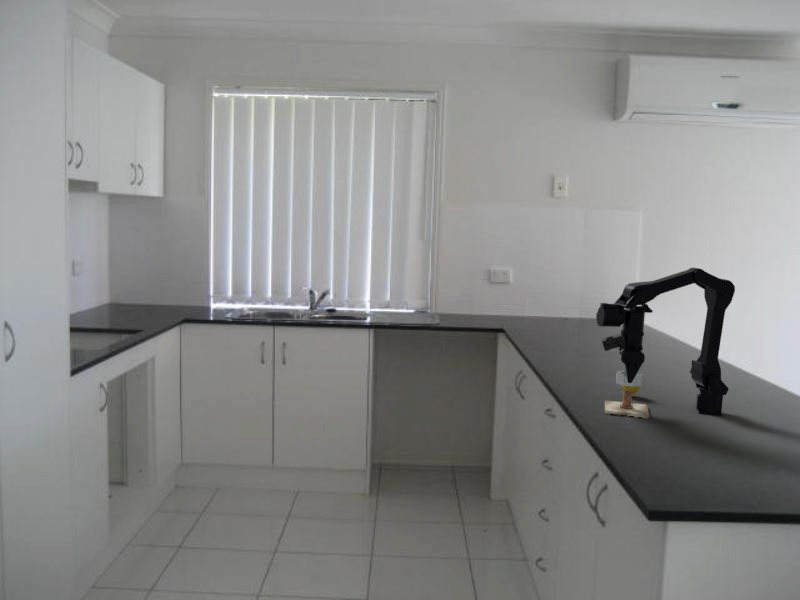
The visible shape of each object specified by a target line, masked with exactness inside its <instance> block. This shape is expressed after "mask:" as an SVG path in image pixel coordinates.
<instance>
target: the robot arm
mask: <svg viewBox="0 0 800 600" xmlns="http://www.w3.org/2000/svg"><path fill="white" fill-rule="evenodd" d="M693 284H695V285H696V286H697V287H699V288H701V289H703V290H704V294H703V295H704V301H705V303H706V315H705V322H704V328H703V335H702V336H703V337H702V343H701V347H700V348H701V349H700V355H699V357H698V358H697V360H694V359H692V360H691V368H690V370H689V374H691V380H693V382H694V383H695V388H697V389H698V393H697V394H696V396H695V404H694V405H695V406H694V408H696V410H697V412H698V413H699V414H705V415H706V414H707V415H714V416H715V415H716V416H723V415H724V414H723V412H722V411H723V410H722V409H723V398H724V396H727V394H728V393H729V392H728V391H729V389H730V388H729V387H728V386H727V385H726V384H725V383H724V381H723V380H722V368H721V365H720V361H719V354H720V353H719V352H720V346H721V340H722V334H723V328H724V320H725V315H726V314H725V313H726V310H727V309H728V307H729V306H730V304H731V303H732V302H733V298H734V296H735V292H736V286H735V285H734V283H733V282H732V281H731V280H728V279H725V278H724V279H723V278H719V277H717V276H715V275H713V274H711V273H709V272H706V270H704V269H703V268H698V267H690V268H688V269H686V270H682V271H680V272H677V273H676V272H675V273H673V274H671V275H667V276H663V277H661V278H658V279H655V280H651V281H650V280H649V281H639V282H638V281H637V282H631V283H627V284H626V285H624V288H623V290H622V293H621V294H620V296H619V297H618V298H617V299H616V300H615V302H613V303H608V302H607V303H606V302H601V303H600V304H599V305H600V306H599V308H598V309H597V312H596V313H595V314H596V318H595V319H596V323H597V326H599V327H600V328H602V327H605V328H607V327H609V328H612V327H613V328H620V327H621V325H622V329H621V330H620V333H619V334H614V335H610V336H606V337H603V338H601V343H602V347H603V350H604V352H608V351H610V350H613V349H617V348H618V351H619V352H618V353H619V355H620V361H621V362H622V364H624V369H625V371H626V372H627V381H628V383H632V381H633V380H634V378H635V376H636V374H637V372H638V373H639V370H640V368H641V367H642V366H643V363H645V359H646V356H645V353H644V352H643V350H644V349H643V339H644V335H645V332H644V325H645V316H646V314H648V313H649V314H651V313H653V310H652V308H650V306H649V305H648V304H647V303H649V302H651V301H653V300H655V299H656V298H657V297H658V296H660V295H661V294H665V293H668V292H671V291H674V290H678V289H681V288H683V287H687V286H690V285H693Z"/></svg>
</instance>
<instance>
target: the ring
mask: <svg viewBox="0 0 800 600" xmlns="http://www.w3.org/2000/svg"><path fill="white" fill-rule="evenodd" d="M615 376H616V377H615V383H616V384H617V385H621V386H622V385H623V386H632V387H636V386H640V387H642V386H643V384H642V383H643V374H642V373H641V372H639V371H638V372H637V374H636V376H635V378H634V380H633V381H632V383H628V381H627V372H626V370H616V375H615Z"/></svg>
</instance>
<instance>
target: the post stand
mask: <svg viewBox="0 0 800 600" xmlns="http://www.w3.org/2000/svg"><path fill="white" fill-rule="evenodd" d="M622 391H623V390H622ZM632 397H633V395H632V391H630V390H624V391H623V393H622V401H613V400H604V413H613V414H619V415H618V416H620V415H627V416H626V417H629V416H634V417H633V418H638V417H642V418H641V419H648V418H649V419H650V413H649V409H648V405H647V404H644V403H643V404H642V403H635V402H633V403H632Z"/></svg>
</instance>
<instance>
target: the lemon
mask: <svg viewBox="0 0 800 600" xmlns="http://www.w3.org/2000/svg"><path fill="white" fill-rule="evenodd" d="M640 388H641V386H636V387H632V386H623V385H621V389H622V391H624V390H630V391H632V396H633V395H635V394H637V393H638V392H639V390H640Z"/></svg>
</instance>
